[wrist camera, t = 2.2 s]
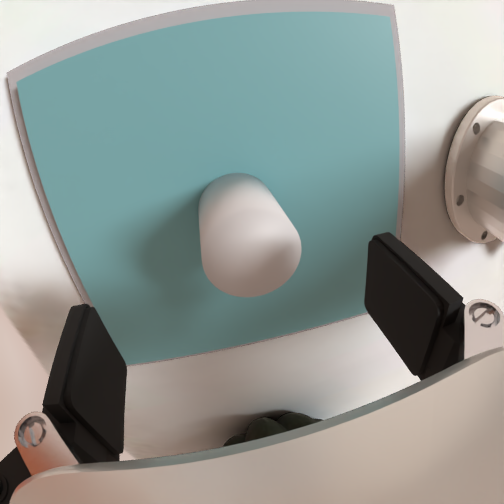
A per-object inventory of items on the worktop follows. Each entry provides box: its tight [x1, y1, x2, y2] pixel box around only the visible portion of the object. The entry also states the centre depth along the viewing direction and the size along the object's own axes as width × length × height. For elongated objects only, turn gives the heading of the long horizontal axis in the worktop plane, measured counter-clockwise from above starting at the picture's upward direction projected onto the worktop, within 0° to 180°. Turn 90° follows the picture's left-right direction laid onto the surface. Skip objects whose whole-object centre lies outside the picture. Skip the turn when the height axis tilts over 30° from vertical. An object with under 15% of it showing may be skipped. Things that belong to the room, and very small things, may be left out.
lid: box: [16, 12, 400, 365], centre depth 15 cm, size 20×20×6 cm
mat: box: [7, 0, 405, 366], centre depth 18 cm, size 22×22×1 cm
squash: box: [224, 412, 323, 447], centre depth 27 cm, size 14×15×15 cm
